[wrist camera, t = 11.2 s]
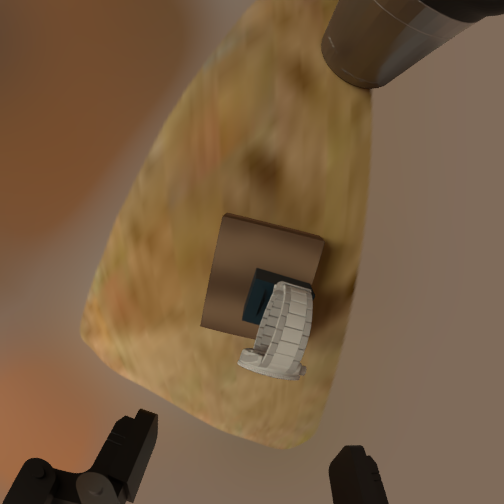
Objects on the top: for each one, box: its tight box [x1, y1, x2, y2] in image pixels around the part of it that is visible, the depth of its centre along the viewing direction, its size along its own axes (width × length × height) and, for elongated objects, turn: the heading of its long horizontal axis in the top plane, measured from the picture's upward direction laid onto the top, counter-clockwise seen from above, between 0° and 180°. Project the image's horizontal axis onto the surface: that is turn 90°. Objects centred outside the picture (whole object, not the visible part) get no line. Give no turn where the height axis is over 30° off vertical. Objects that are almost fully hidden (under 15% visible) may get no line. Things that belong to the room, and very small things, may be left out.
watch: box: [238, 268, 315, 380], centre depth 22 cm, size 6×8×11 cm
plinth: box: [200, 213, 325, 343], centre depth 29 cm, size 12×10×3 cm
